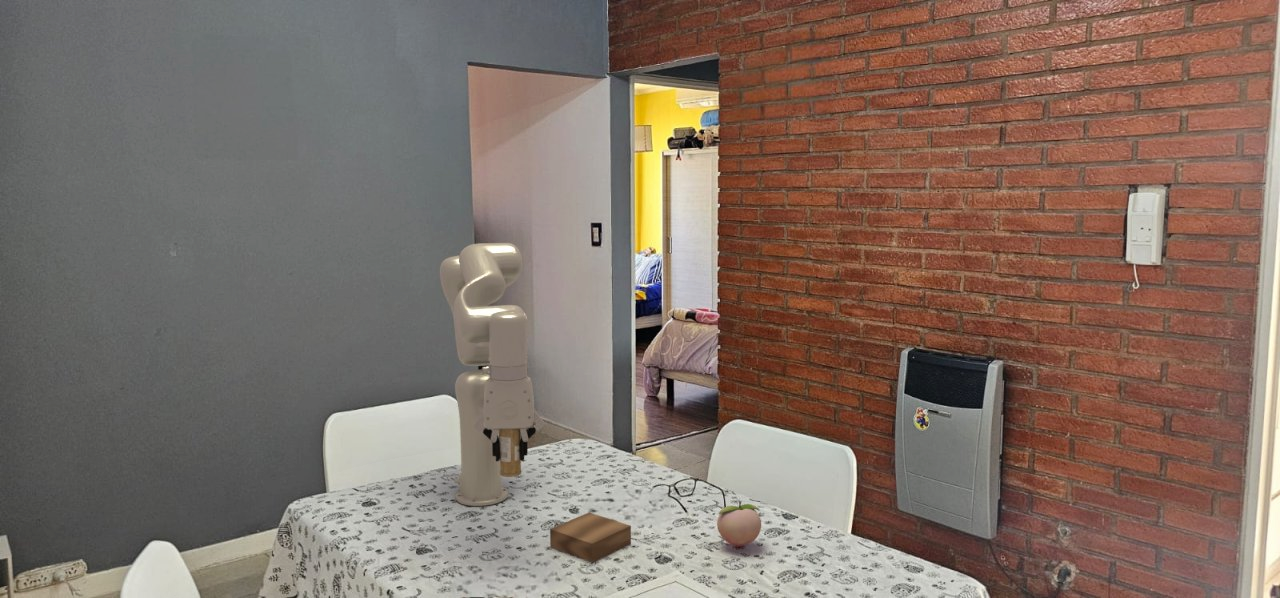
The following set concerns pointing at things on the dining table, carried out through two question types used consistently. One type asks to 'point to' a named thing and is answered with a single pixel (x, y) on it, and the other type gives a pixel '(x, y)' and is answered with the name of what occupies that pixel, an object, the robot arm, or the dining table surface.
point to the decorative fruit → (739, 524)
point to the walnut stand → (590, 537)
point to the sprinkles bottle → (509, 452)
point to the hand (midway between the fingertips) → (510, 458)
